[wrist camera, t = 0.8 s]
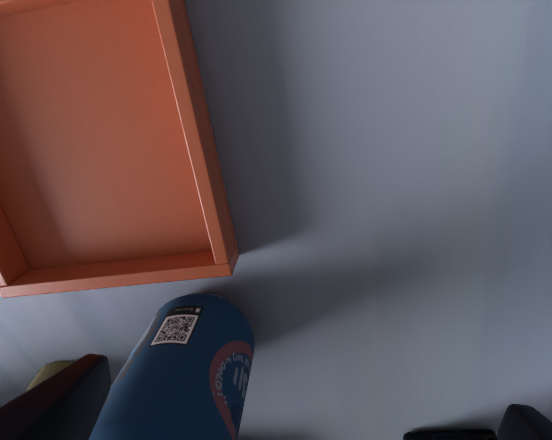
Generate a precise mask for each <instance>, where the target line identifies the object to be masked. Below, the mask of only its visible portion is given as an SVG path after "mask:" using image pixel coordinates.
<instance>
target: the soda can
mask: <svg viewBox="0 0 552 440" xmlns="http://www.w3.org/2000/svg"><path fill="white" fill-rule="evenodd" d="M254 348H255V341H254V335H253V331H252V329H251V326H250V324H249V323H248V321H247V319H246V318H245V316H244V315H243V314H242V313H241V311H240V310H239V309H238V308H237V307H236V306H235V305H234V304H233V303H231V302H230V301H229V300H227V299H225V298H223V297H221V296H218V295H214V294H210V293H195V294H189V295H185V296H181V297H178V298H176V299H173V300H171V301H169V302H168V303H166V304H165V305H164V306H162V307H161V308H160V309H159V310H158V312H157V313H156V314H155V316H154V317H153V319H152V321H151V322H150V324H149V326H148V327H147V329H146V331H145V332H144V334H143V335H142V337H141V339H140V340H139V342H138V344H137V345H136V347H135V348H134V350H133V352H132V353H131V355H130V357H129V358H128V360H127V361H126V363H125V365H124V366H123V368H122V370H121V371H120V373H119V374H118V376H117V378H116V379H115V381H114V383H113V384H112V386H111V387H110V391H109V394H108V396H107V399H106V401H105V403H104V406H103V408H102V410H101V413H100V415H99V417H98V419H97V422H96V424H95V426H94V429H93V431H92V433H91V436H90V438H89V440H237V438H238V433H239V428H240V423H241V417H242V412H243V407H244V401H245V396H246V391H247V386H248V380H249V375H250V370H251V364H252V359H253V354H254Z"/></svg>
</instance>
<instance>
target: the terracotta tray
mask: <svg viewBox="0 0 552 440" xmlns="http://www.w3.org/2000/svg"><path fill="white" fill-rule="evenodd" d="M238 257H239V252H238V247H237V242H236V238H235V233H234V228H233V224H232V219H231V214H230V210H229V205H228V201H227V196H226V191H225V187H224V182H223V177H222V173H221V168H220V163H219V159H218V154H217V149H216V145H215V140H214V135H213V131H212V126H211V122H210V117H209V112H208V108H207V103H206V98H205V94H204V89H203V84H202V80H201V75H200V70H199V66H198V61H197V56H196V52H195V47H194V42H193V38H192V33H191V29H190V24H189V19H188V15H187V10H186V5H185V1H184V0H0V294H1V296H2V298H7V297H17V296H27V295H37V294H48V293H58V292H68V291H78V290H89V289H99V288H109V287H119V286H130V285H140V284H150V283H160V282H170V281H181V280H191V279H201V278H211V277H222V276H231V275H232V273H233V271H234V268H235V265H236V262H237V260H238Z"/></svg>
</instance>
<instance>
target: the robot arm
mask: <svg viewBox="0 0 552 440" xmlns="http://www.w3.org/2000/svg"><path fill="white" fill-rule="evenodd" d="M110 387H111V378H110V371H109V363H108V358H107V357H106V356H104V355H97V354H87V355H85V356H83V357H82V358H80V359H78V360H77V361H75V362H74V363H72V364H70V365H69V366H67V367H65V368H64V369H62V370H60V371H59V372H57V373H55V374H54V375H52V376H51V377H49V378H47V379H46V380H44V381H42V382H41V383H39V384H37V385H36V386H34V387H32V388H31V389H29V390H28V391H26V392H24V393H23V394H21V395H19V396H18V397H16V398H14V399H13V400H11V401H9V402H8V403H6V404H5V405H3V406H1V407H0V440H89V438H90V436H91V433H92V431H93V429H94V426H95V424H96V422H97V419H98V417H99V415H100V413H101V410H102V408H103V406H104V403H105V401H106V399H107V396H108V394H109V391H110ZM403 440H552V422H551V421H550V420H549V419H547V418H546V417H545V416H544V415H542V414H541V413H540V412H539V411H537V410H536V409H535V408H533V407H531V406H528V405H520V404H511V405H509V406H508V408H507V410H506V412H505V414H504V417H503V419H502V422H501V424H500V426H499V429H498V438H497V436H496V434H495V432H494V431H492V430H467V431H440V432H414V433H406V434H405V435H404V436H403Z"/></svg>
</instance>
